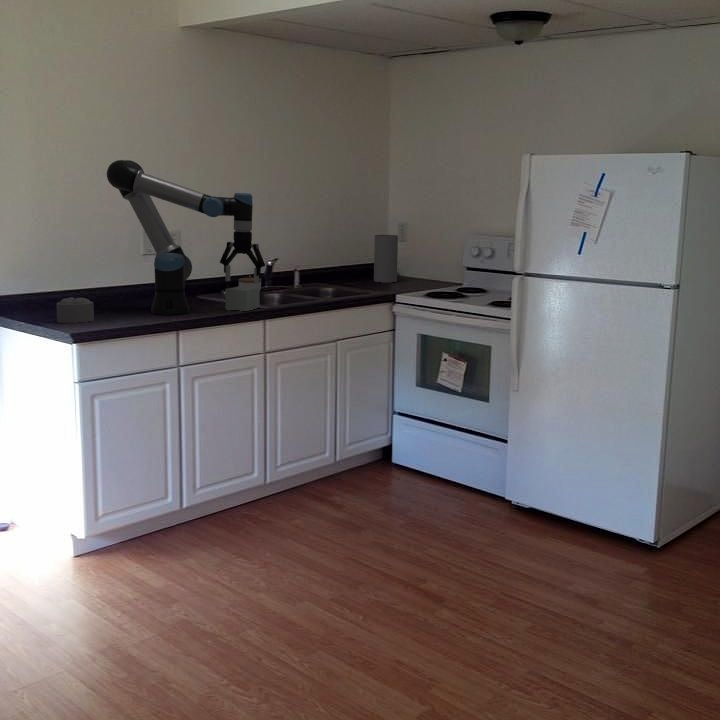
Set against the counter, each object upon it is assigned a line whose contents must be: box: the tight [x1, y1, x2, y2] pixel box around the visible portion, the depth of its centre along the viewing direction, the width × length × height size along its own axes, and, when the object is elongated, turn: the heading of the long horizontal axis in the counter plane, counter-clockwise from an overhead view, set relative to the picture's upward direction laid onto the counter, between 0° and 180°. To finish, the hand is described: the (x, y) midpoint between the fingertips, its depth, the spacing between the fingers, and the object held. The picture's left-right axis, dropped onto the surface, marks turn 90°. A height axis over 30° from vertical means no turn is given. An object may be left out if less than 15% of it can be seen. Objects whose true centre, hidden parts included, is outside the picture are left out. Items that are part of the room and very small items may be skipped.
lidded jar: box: [237, 274, 262, 292], centre depth 422 cm, size 11×11×9 cm
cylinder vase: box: [373, 234, 399, 284], centre depth 486 cm, size 12×12×25 cm
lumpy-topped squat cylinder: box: [55, 296, 95, 324], centre depth 339 cm, size 10×13×9 cm
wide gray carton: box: [225, 286, 261, 312], centre depth 376 cm, size 10×10×9 cm
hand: (241, 282), depth 376 cm, fingers open, 13 cm apart
